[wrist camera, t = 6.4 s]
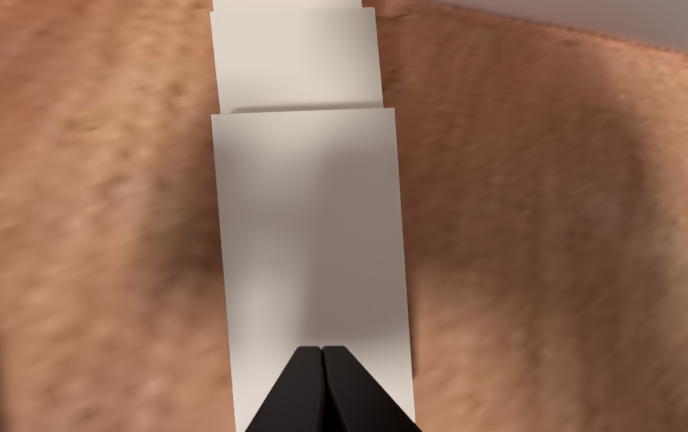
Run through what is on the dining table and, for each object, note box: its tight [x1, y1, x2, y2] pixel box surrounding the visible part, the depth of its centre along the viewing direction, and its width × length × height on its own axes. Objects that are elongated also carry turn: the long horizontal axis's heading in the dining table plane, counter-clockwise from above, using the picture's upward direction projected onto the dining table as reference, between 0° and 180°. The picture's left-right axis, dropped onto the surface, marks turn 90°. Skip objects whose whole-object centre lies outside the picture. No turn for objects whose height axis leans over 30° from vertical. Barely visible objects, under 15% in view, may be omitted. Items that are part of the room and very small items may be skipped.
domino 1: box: [211, 108, 415, 432], centre depth 13 cm, size 2×5×9 cm
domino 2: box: [210, 7, 383, 114], centre depth 15 cm, size 2×5×9 cm
